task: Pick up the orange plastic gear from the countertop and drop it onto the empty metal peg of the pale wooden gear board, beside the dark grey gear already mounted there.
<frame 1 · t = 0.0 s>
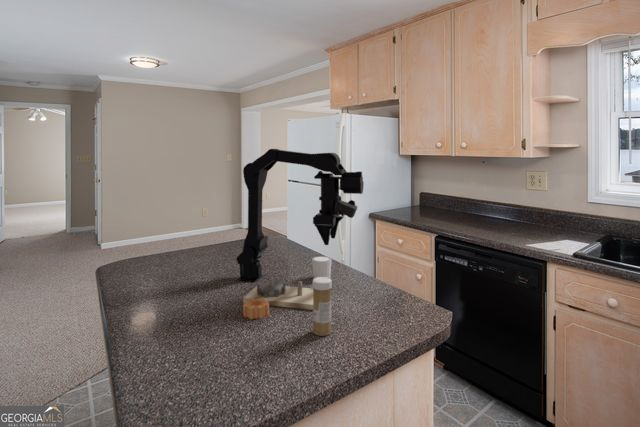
hand: (330, 241, 121), 15 cm above the counter, tool pointing down, fingers open, 9 cm apart
gear board: (285, 298, 113), on the counter
sprinkles bottle: (322, 333, 92), on the counter
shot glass: (321, 278, 131), on the counter
orange gear: (256, 313, 103), on the counter
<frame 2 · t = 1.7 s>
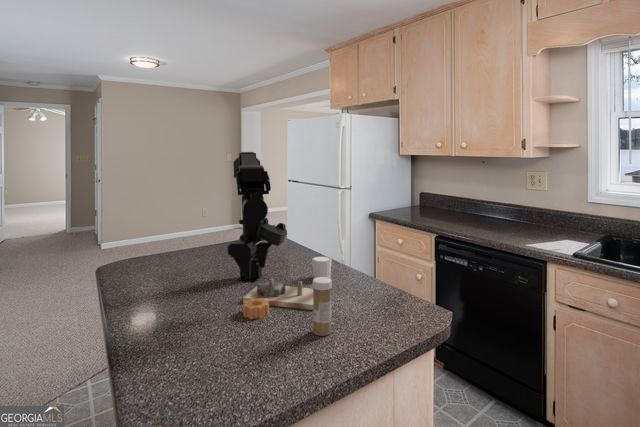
hand: (255, 272, 101), 11 cm above the counter, tool pointing down, fingers open, 9 cm apart
nothing on the counter moved.
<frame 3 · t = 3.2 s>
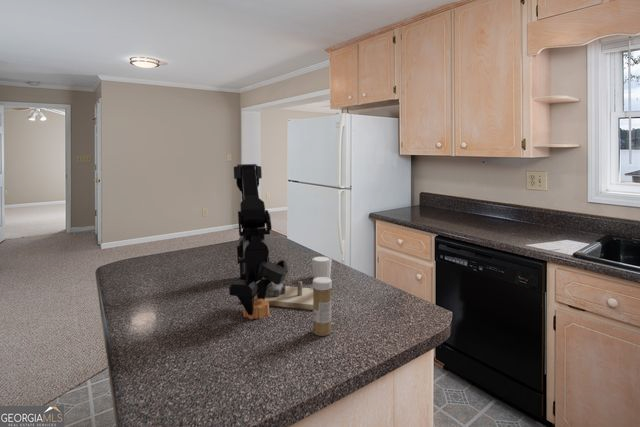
hand: (256, 309, 103), 1 cm above the counter, tool pointing down, fingers closed on orange gear, 7 cm apart
orange gear: (256, 313, 103), on the counter, touching gripper
everything else where it was.
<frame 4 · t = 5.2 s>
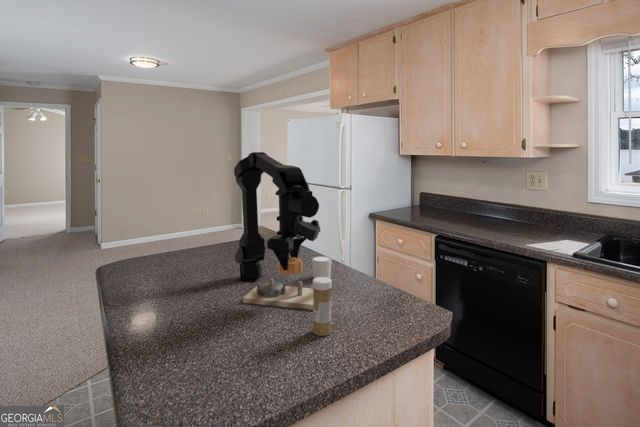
hand: (290, 266, 108), 11 cm above the counter, tool pointing down, fingers closed on orange gear, 7 cm apart
orange gear: (290, 270, 108), point 10 cm above the counter, touching gripper
everything else where it was.
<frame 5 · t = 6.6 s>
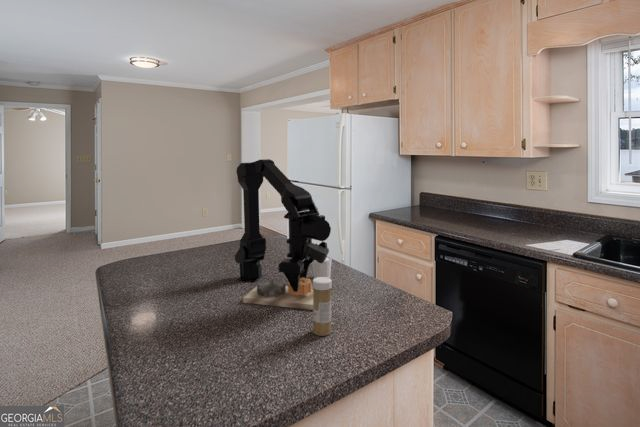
hand: (299, 286, 111), 4 cm above the counter, tool pointing down, fingers closed on orange gear, 7 cm apart
orange gear: (299, 290, 112), point 3 cm above the counter, touching gripper
everything else where it was.
when the fingers open (4 cm above the counter, at t = 7.6 s): orange gear stays where it is, resting on gear board.
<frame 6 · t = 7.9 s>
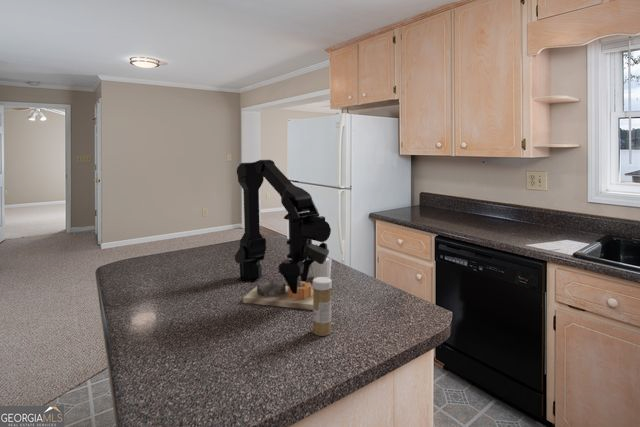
hand: (299, 287, 111), 4 cm above the counter, tool pointing down, fingers open, 9 cm apart
orange gear: (299, 294, 112), point 1 cm above the counter, touching gear board
everything else where it was.
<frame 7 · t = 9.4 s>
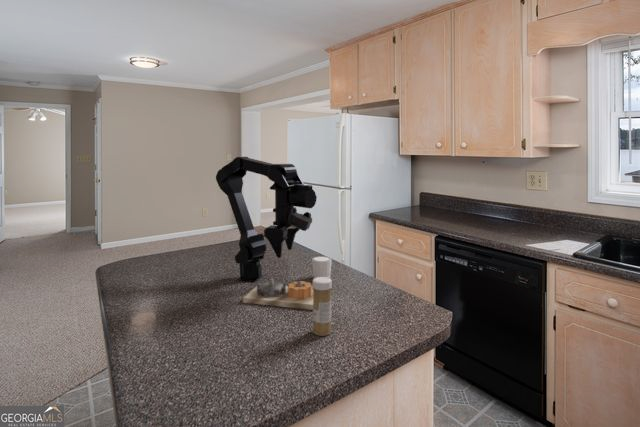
hand: (284, 253, 120), 11 cm above the counter, tool pointing down, fingers open, 9 cm apart
nothing on the counter moved.
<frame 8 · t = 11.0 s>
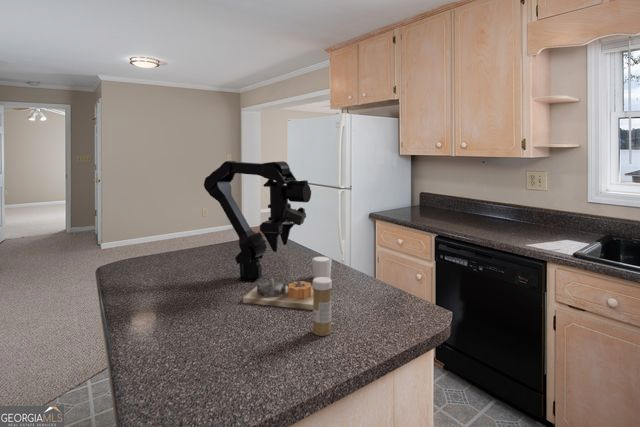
hand: (280, 248, 124), 12 cm above the counter, tool pointing down, fingers open, 9 cm apart
nothing on the counter moved.
at the end: orange gear 0.0 cm from the target spot on the gear board, point 1.5 cm above the gear board's base; orange gear tilted 0°; the gripper is holding nothing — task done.
